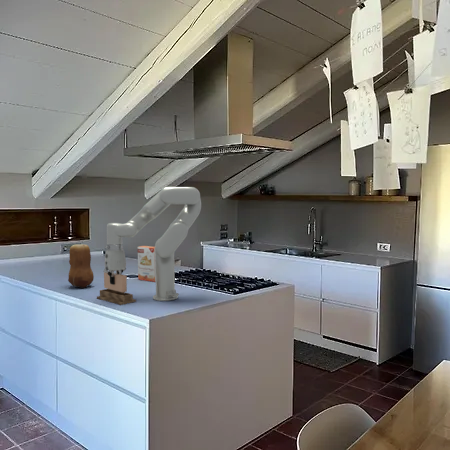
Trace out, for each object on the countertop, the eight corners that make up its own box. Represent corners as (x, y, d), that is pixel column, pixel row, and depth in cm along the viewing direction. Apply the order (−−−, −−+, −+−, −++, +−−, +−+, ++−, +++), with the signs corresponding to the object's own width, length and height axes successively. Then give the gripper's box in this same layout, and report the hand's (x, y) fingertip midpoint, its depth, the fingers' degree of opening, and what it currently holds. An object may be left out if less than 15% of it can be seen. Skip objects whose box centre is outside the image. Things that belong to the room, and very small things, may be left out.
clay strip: (126, 291, 228) (126, 275, 228) (122, 292, 227) (122, 276, 226) (108, 287, 239) (108, 271, 239) (104, 287, 237) (103, 272, 237)
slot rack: (135, 301, 230) (135, 293, 229) (120, 305, 223) (120, 296, 223) (111, 295, 244) (111, 287, 243) (96, 298, 237) (96, 290, 237)
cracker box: (137, 279, 287) (136, 246, 285) (144, 278, 292) (143, 245, 290) (154, 282, 279) (153, 247, 277) (161, 280, 284) (160, 246, 282)
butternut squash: (87, 283, 275) (86, 242, 273) (97, 287, 265) (96, 244, 263) (64, 287, 266) (63, 244, 264) (74, 290, 256) (72, 246, 254)
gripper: (105, 249, 223) (105, 287, 224) (132, 246, 235) (132, 282, 236) (96, 248, 228) (97, 285, 229) (123, 245, 240) (124, 280, 241)
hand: (115, 283), depth 233 cm, fingers closed on clay strip, 2 cm apart
